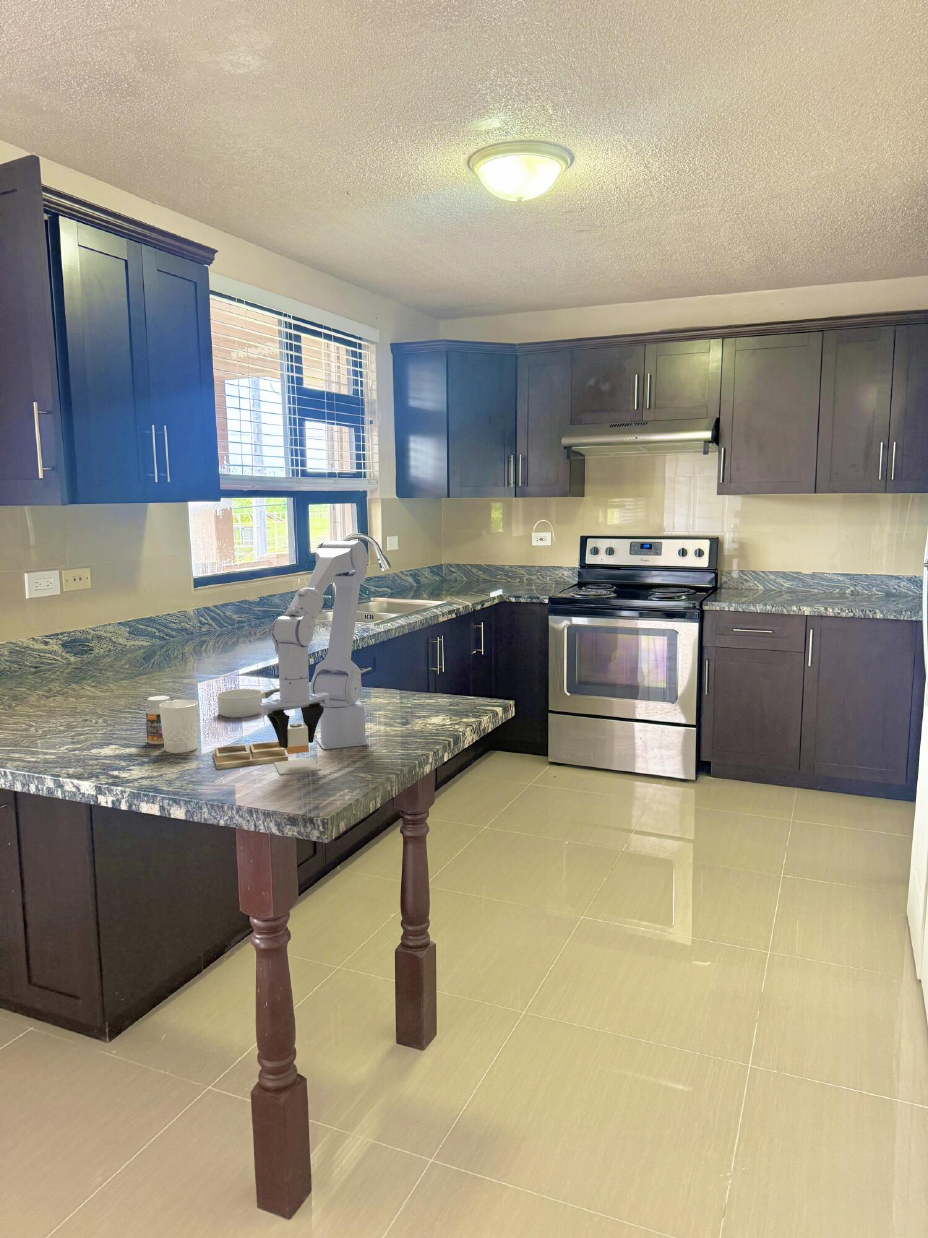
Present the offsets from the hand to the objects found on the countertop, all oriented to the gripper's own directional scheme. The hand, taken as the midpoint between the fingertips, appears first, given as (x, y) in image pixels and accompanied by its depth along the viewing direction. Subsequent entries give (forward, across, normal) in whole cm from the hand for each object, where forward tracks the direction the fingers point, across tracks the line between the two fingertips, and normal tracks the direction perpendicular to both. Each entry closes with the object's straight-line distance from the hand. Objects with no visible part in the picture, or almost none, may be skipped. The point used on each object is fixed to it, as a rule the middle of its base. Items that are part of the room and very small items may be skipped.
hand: (296, 744), depth 166 cm
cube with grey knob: (+1, 0, 0) cm, 1 cm away
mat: (+5, 0, 0) cm, 5 cm away
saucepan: (+5, -16, -49) cm, 51 cm away
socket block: (+5, +4, -12) cm, 14 cm away
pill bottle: (+5, +13, -38) cm, 40 cm away
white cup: (+5, +12, -29) cm, 32 cm away
